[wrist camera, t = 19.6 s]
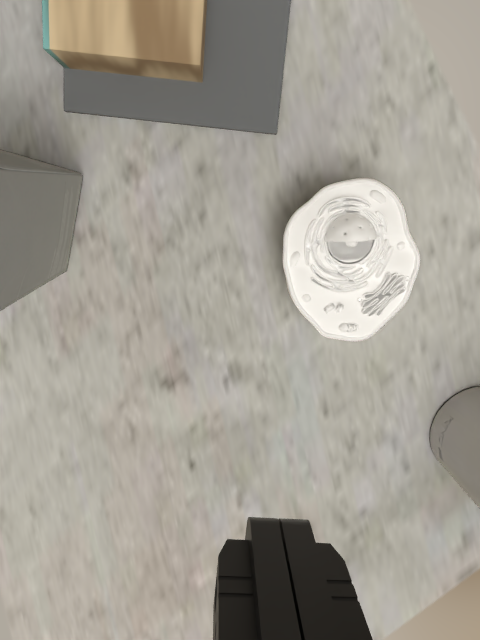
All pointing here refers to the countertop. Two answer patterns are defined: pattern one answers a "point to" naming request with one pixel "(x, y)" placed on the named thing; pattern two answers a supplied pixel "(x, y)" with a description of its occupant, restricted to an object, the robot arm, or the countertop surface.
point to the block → (128, 36)
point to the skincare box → (34, 223)
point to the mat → (218, 76)
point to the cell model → (350, 258)
